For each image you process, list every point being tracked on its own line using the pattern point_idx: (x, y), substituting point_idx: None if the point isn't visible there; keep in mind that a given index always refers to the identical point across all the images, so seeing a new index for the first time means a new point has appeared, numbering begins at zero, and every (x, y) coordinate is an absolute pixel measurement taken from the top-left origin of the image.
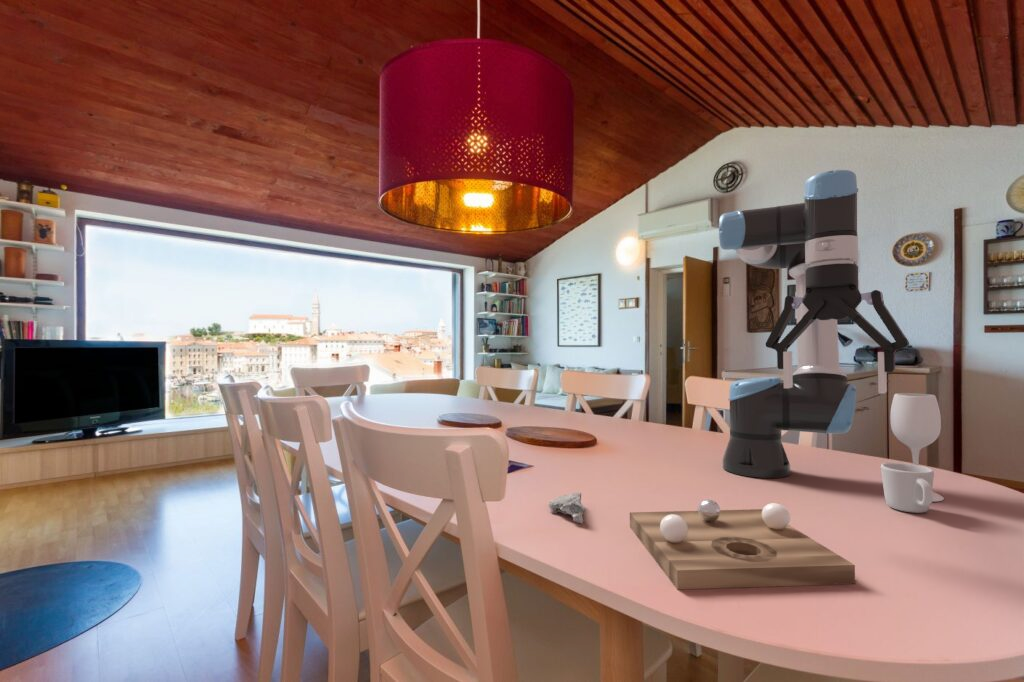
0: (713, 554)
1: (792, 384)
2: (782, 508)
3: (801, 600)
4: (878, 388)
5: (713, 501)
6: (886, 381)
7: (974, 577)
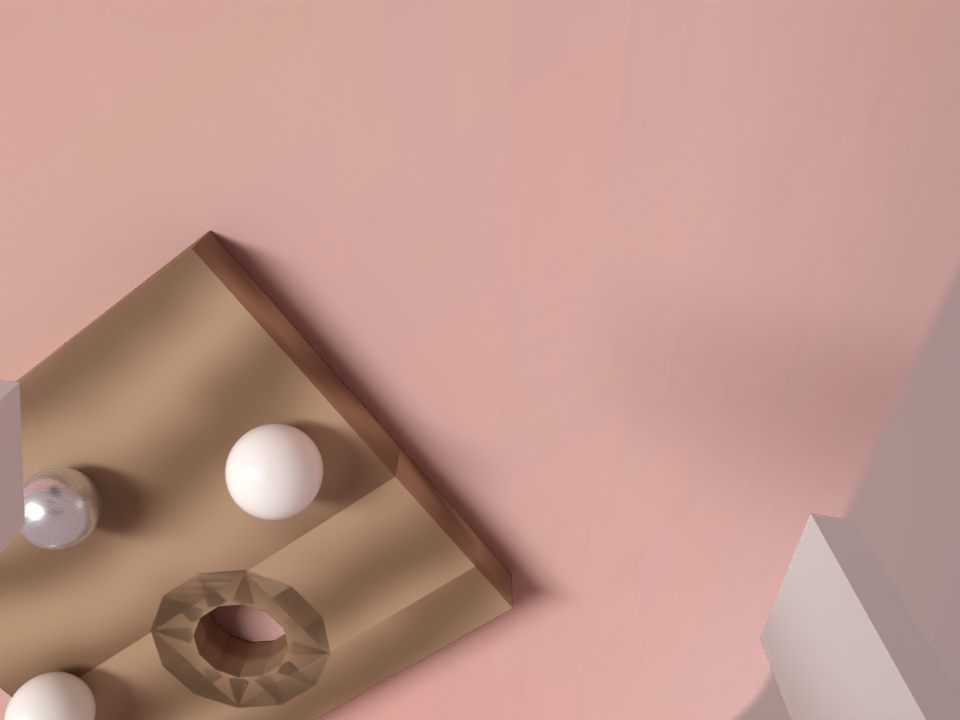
0: (188, 708)
1: (2, 398)
2: (292, 505)
3: (404, 701)
4: (773, 669)
5: (57, 530)
6: (894, 591)
7: (816, 381)
